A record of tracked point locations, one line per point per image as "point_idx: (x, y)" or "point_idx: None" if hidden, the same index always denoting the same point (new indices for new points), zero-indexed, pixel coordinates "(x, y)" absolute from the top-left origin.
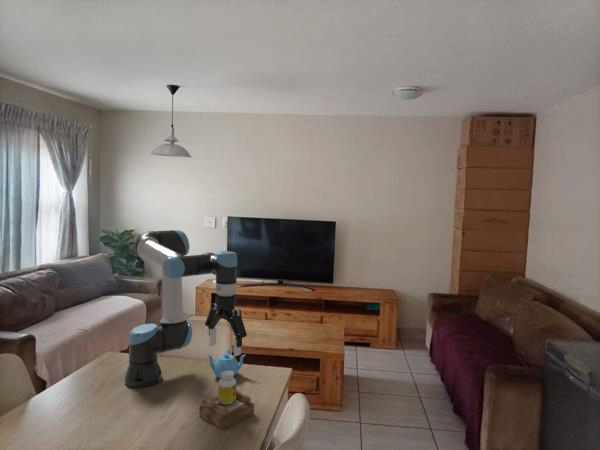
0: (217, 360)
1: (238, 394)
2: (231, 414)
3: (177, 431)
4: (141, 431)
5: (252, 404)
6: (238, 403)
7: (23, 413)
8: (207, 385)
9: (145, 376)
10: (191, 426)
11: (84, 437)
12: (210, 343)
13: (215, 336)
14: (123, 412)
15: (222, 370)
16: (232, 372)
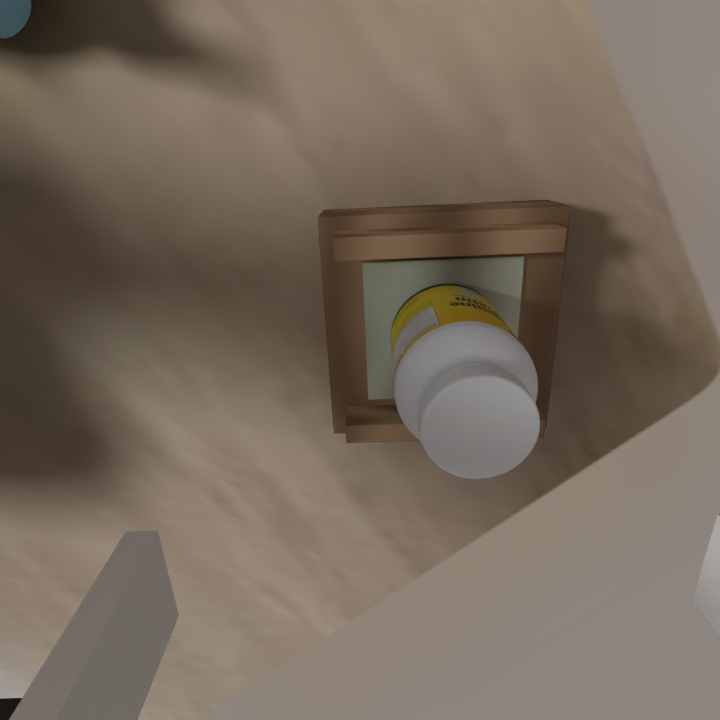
0: None
1: (462, 254)
2: (540, 380)
3: (370, 520)
4: (270, 592)
5: (568, 220)
6: (494, 282)
7: None
8: (46, 160)
9: None
10: (382, 470)
11: (177, 696)
12: (159, 657)
13: (92, 680)
14: (87, 575)
15: (5, 33)
16: (507, 393)
